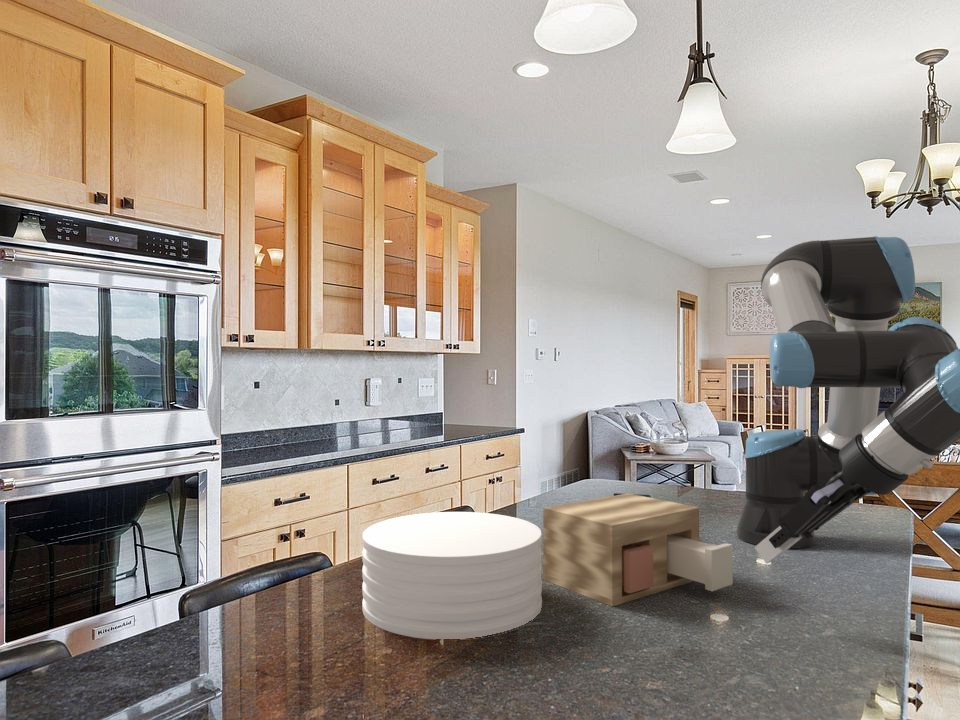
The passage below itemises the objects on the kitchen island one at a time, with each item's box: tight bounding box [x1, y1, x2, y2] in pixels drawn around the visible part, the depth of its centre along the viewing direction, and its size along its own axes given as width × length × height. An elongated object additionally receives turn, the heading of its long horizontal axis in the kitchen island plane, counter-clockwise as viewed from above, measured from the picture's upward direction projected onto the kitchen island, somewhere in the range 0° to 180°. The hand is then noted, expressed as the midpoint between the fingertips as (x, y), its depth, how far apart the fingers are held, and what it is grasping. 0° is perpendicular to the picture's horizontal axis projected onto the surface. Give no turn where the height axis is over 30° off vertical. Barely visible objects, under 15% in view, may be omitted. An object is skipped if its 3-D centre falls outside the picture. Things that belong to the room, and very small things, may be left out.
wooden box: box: [542, 492, 700, 607], centre depth 115 cm, size 16×22×12 cm
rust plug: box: [622, 545, 653, 593], centre depth 112 cm, size 17×6×6 cm, turn 36°
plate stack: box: [361, 511, 543, 640], centre depth 104 cm, size 28×28×12 cm
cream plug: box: [667, 534, 734, 592], centre depth 112 cm, size 17×6×6 cm, turn 36°
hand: (763, 554), depth 97 cm, fingers closed
